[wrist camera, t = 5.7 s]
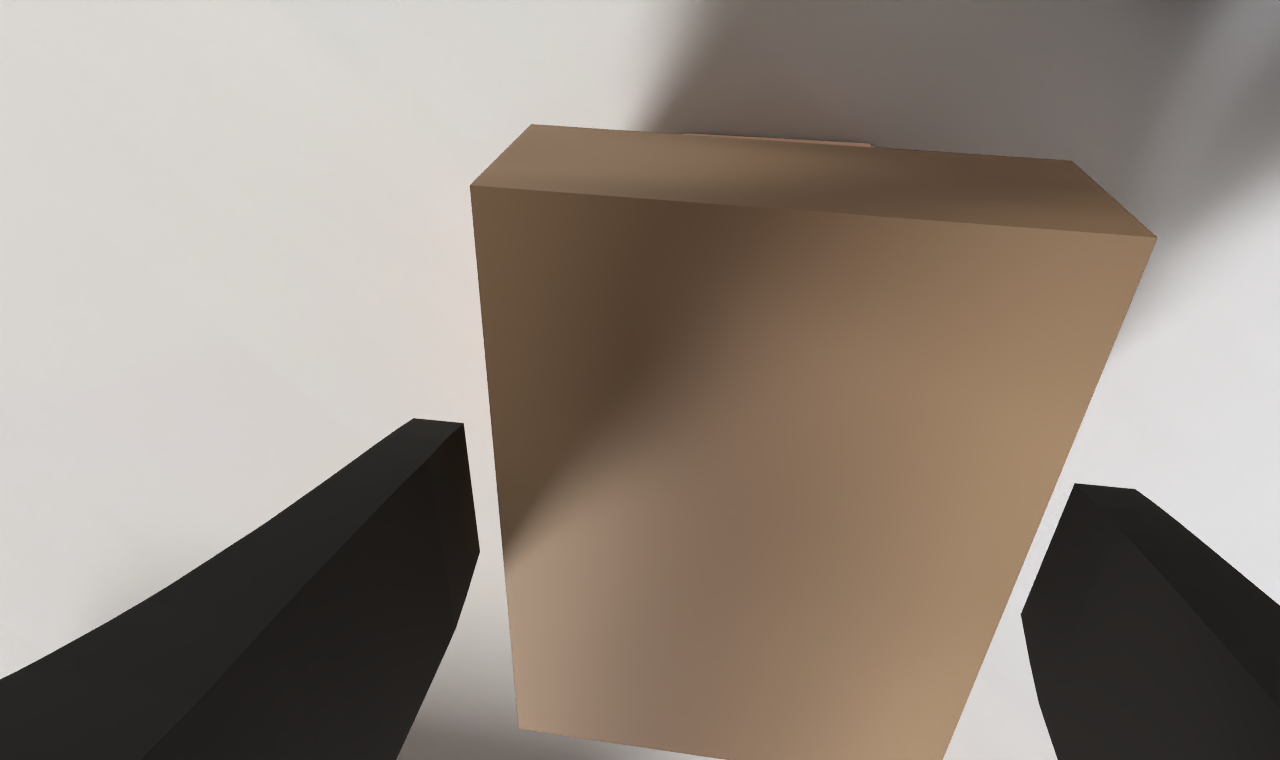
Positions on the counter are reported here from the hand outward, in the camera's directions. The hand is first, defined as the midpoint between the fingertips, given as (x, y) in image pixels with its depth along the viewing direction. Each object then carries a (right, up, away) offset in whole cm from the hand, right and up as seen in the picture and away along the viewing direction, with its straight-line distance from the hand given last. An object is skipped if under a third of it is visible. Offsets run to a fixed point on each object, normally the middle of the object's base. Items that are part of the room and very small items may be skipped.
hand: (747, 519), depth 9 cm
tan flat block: (0, +1, +1) cm, 1 cm away
